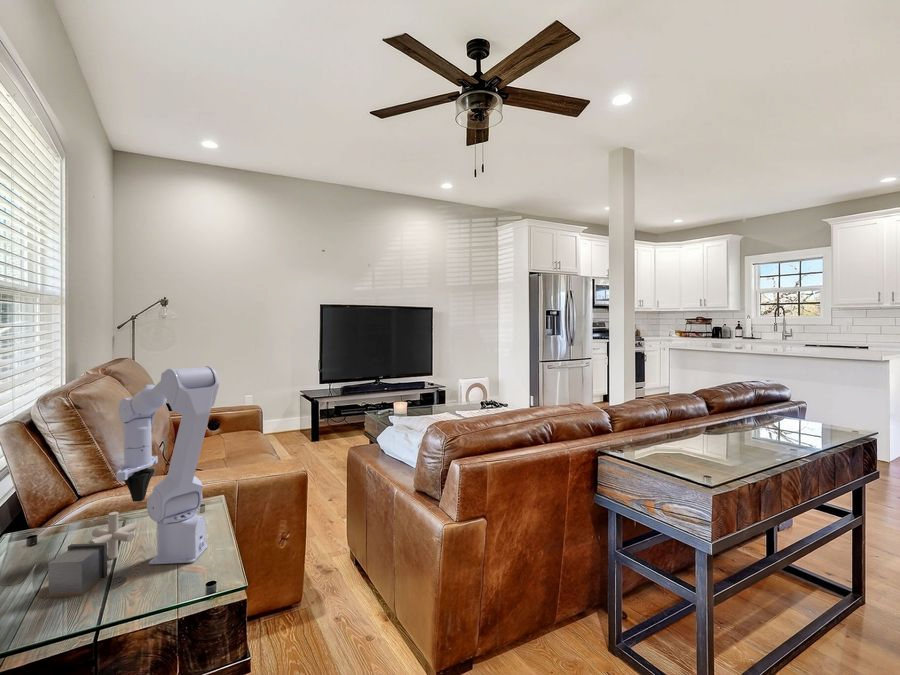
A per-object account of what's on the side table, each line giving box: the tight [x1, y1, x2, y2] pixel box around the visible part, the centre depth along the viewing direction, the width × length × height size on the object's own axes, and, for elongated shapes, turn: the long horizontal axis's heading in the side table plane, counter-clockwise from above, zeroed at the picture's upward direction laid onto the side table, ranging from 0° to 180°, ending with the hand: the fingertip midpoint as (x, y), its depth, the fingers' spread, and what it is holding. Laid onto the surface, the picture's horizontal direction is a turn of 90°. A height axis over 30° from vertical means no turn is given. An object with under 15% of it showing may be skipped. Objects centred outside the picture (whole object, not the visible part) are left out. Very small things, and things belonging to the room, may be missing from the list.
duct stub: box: [47, 542, 108, 598], centre depth 95 cm, size 7×7×7 cm
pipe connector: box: [88, 511, 137, 560], centre depth 107 cm, size 10×10×10 cm
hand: (138, 500), depth 117 cm, fingers closed
